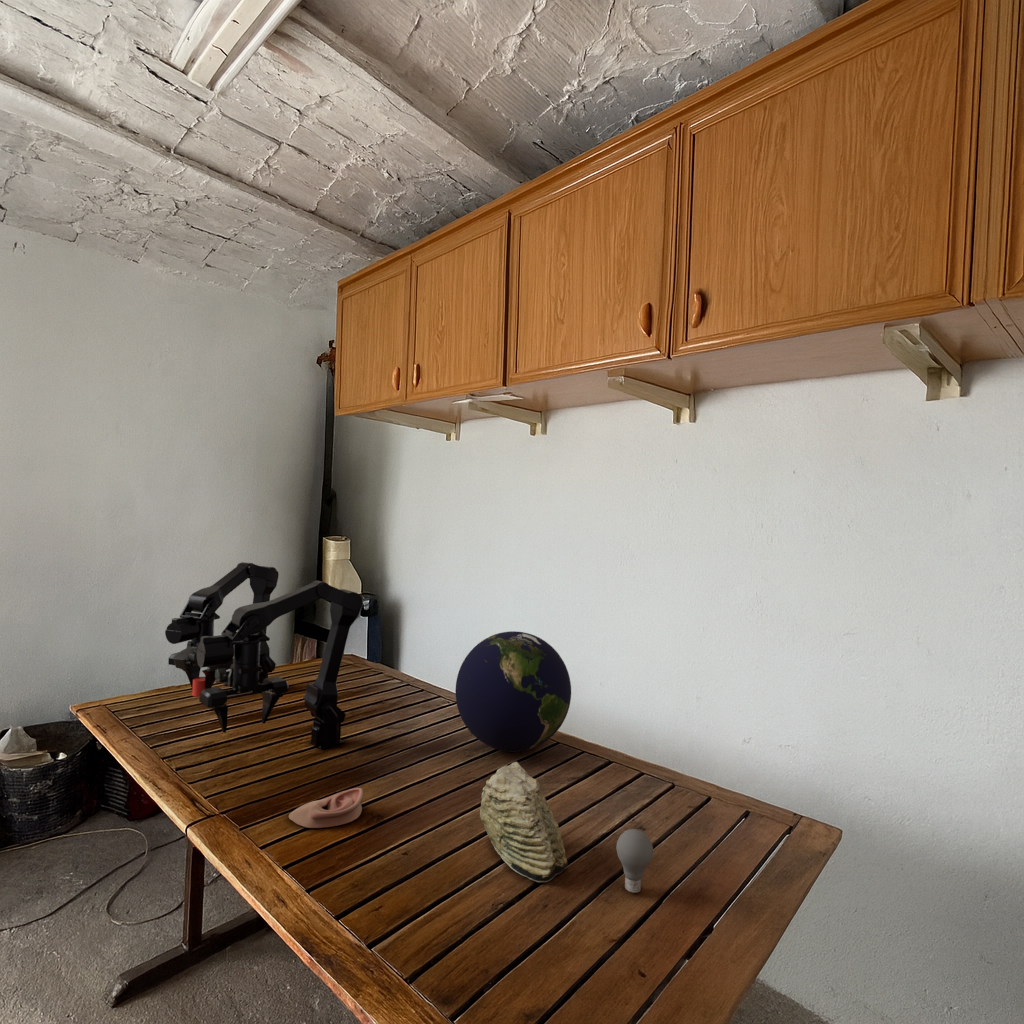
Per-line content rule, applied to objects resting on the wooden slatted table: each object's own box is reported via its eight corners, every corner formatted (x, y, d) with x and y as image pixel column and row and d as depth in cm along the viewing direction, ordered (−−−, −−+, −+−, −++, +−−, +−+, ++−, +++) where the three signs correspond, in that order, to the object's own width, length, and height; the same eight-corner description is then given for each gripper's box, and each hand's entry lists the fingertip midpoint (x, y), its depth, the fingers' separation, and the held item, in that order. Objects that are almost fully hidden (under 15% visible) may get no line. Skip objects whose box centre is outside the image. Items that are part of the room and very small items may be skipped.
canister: (189, 694, 180) (189, 679, 180) (202, 691, 184) (203, 675, 184) (198, 697, 178) (198, 681, 178) (212, 694, 182) (212, 678, 182)
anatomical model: (280, 803, 122) (311, 778, 133) (279, 823, 122) (310, 796, 133) (344, 813, 119) (370, 786, 130) (343, 834, 119) (369, 805, 130)
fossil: (501, 827, 124) (504, 751, 124) (575, 868, 111) (578, 784, 111) (467, 843, 118) (470, 763, 118) (541, 889, 105) (545, 799, 105)
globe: (499, 719, 185) (504, 617, 185) (589, 746, 168) (594, 633, 167) (428, 749, 161) (433, 631, 160) (525, 784, 144) (531, 652, 143)
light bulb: (610, 879, 108) (613, 822, 108) (644, 879, 109) (647, 822, 109) (619, 902, 102) (622, 840, 102) (655, 901, 103) (658, 840, 103)
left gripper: (153, 639, 175) (151, 694, 176) (208, 646, 170) (206, 703, 171) (184, 631, 186) (183, 683, 187) (237, 637, 181) (235, 692, 181)
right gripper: (270, 648, 160) (267, 710, 160) (191, 660, 147) (189, 726, 147) (290, 658, 152) (288, 722, 153) (210, 670, 139) (207, 741, 139)
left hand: (200, 690), depth 181 cm, fingers closed on canister, 4 cm apart
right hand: (244, 727), depth 148 cm, fingers open, 9 cm apart
